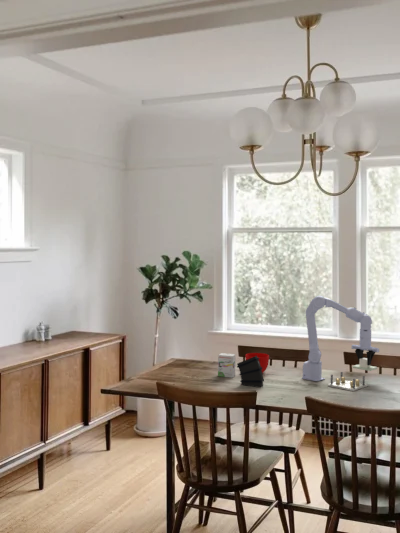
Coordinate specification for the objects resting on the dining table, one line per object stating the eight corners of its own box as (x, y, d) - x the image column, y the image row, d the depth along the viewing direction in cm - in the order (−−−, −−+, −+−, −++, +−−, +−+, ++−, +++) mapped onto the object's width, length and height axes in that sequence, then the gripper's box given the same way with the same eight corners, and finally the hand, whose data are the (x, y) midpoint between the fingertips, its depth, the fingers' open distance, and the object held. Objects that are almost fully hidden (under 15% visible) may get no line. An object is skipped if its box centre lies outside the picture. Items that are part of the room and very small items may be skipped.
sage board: (352, 367, 295) (352, 358, 295) (359, 366, 300) (359, 356, 300) (370, 371, 288) (370, 361, 288) (377, 368, 293) (377, 359, 293)
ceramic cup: (275, 371, 320) (276, 353, 320) (262, 376, 306) (262, 358, 305) (255, 368, 327) (255, 351, 327) (241, 373, 313) (241, 355, 312)
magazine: (266, 385, 280) (255, 356, 282) (244, 393, 285) (233, 365, 288) (269, 383, 283) (257, 355, 285) (247, 391, 289) (236, 364, 291)
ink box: (217, 376, 305) (217, 354, 305) (220, 374, 310) (220, 352, 310) (232, 377, 302) (232, 355, 302) (235, 375, 307) (235, 354, 307)
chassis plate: (327, 386, 286) (328, 375, 285) (342, 381, 296) (342, 371, 295) (353, 391, 276) (353, 379, 276) (367, 386, 286) (367, 375, 286)
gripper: (382, 338, 291) (381, 365, 292) (356, 335, 301) (355, 361, 302) (375, 340, 286) (375, 367, 287) (349, 337, 296) (349, 363, 297)
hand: (364, 364), depth 294 cm, fingers closed on sage board, 4 cm apart
